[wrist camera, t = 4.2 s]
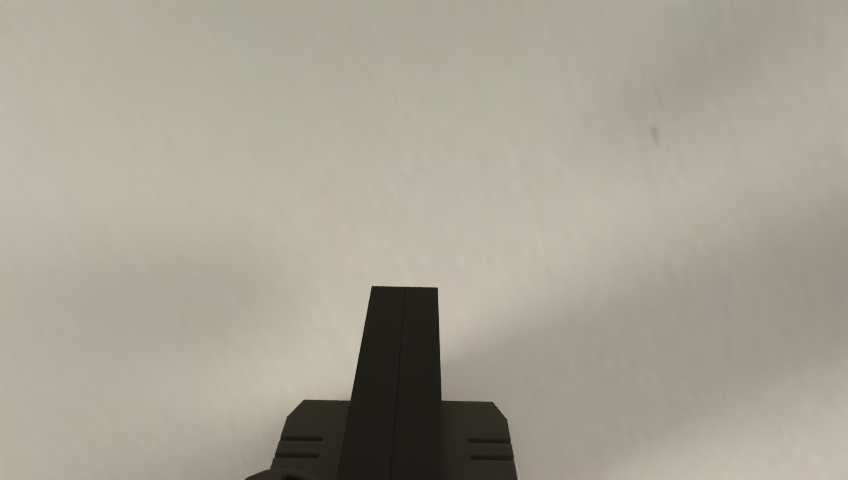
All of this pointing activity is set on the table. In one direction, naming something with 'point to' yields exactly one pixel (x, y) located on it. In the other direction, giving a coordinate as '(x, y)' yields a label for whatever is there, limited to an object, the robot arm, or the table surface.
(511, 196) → the table surface
